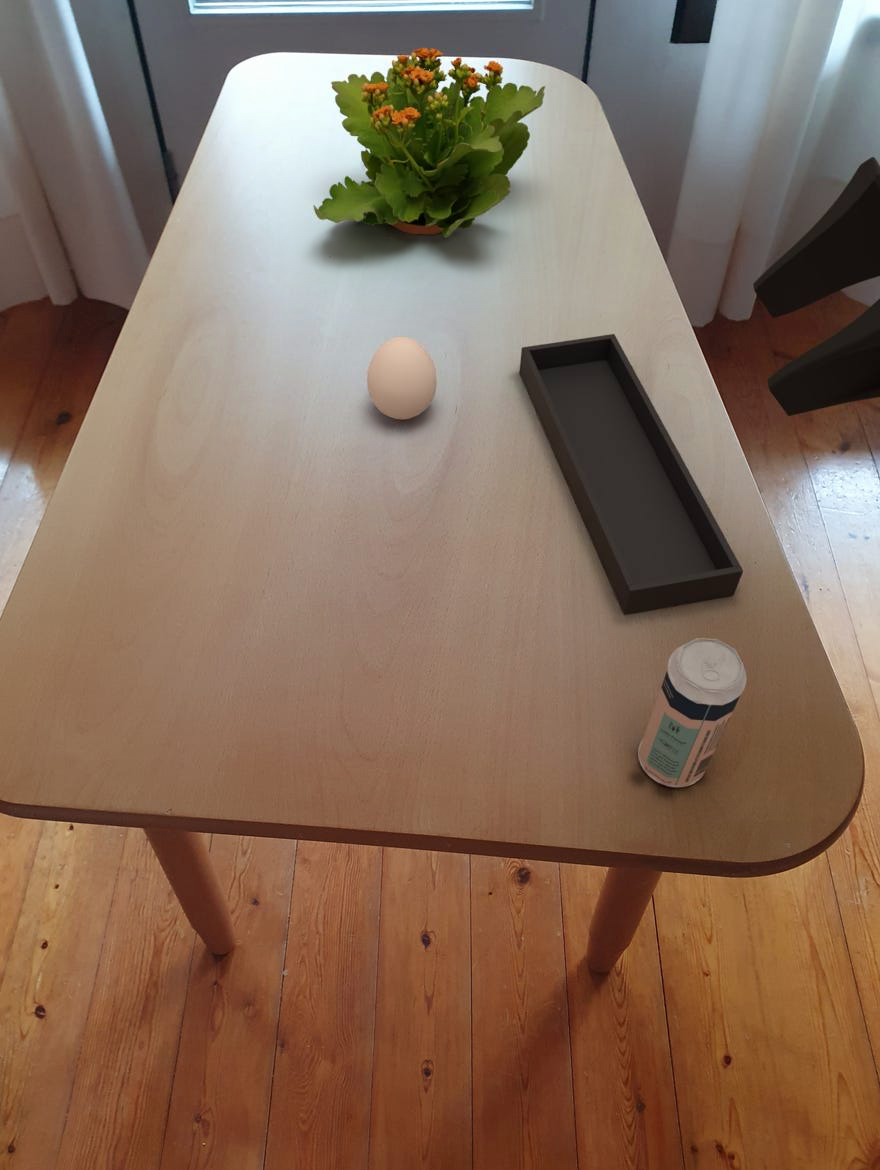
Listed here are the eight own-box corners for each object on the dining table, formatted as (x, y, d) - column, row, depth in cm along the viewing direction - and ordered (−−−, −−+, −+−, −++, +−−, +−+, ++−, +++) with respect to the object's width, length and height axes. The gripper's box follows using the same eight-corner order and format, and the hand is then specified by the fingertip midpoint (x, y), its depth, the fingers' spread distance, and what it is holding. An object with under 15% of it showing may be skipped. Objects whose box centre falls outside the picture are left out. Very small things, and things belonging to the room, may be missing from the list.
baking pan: (733, 595, 78) (743, 571, 76) (623, 615, 77) (630, 590, 75) (609, 359, 96) (614, 333, 93) (519, 372, 95) (521, 347, 93)
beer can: (702, 734, 70) (746, 634, 61) (708, 793, 68) (755, 698, 58) (635, 729, 71) (668, 629, 61) (638, 787, 68) (673, 693, 58)
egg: (392, 382, 95) (389, 311, 88) (449, 404, 92) (450, 333, 86) (355, 420, 91) (350, 349, 85) (413, 444, 89) (412, 373, 83)
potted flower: (343, 152, 121) (332, -7, 107) (536, 158, 119) (550, -3, 105) (313, 269, 106) (296, 103, 92) (532, 277, 104) (549, 109, 90)
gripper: (1017, 11, 41) (718, 205, 49) (1125, 189, 32) (741, 389, 41) (1069, 142, 45) (784, 302, 53) (1178, 333, 36) (817, 490, 44)
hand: (770, 347), depth 47 cm, fingers open, 7 cm apart
